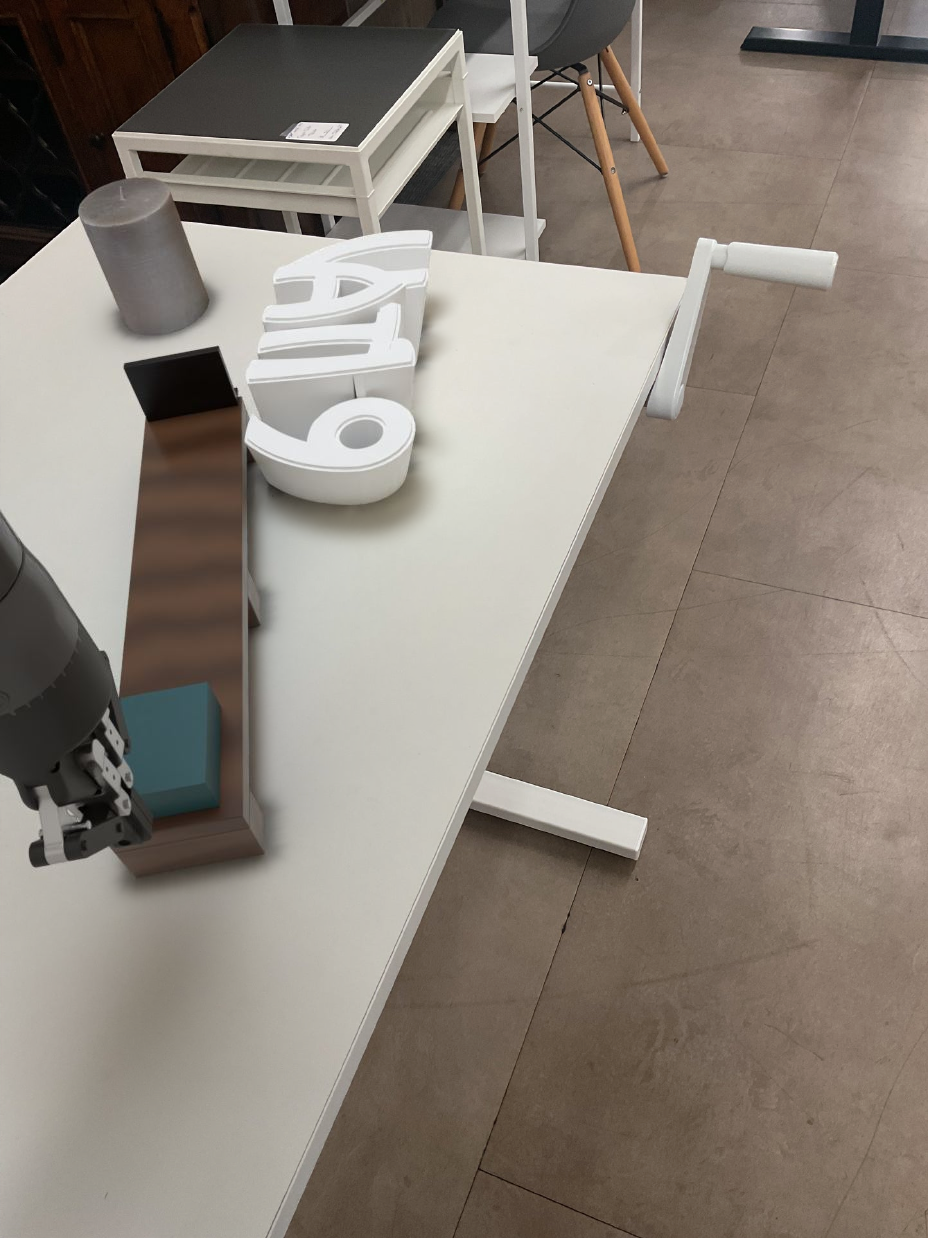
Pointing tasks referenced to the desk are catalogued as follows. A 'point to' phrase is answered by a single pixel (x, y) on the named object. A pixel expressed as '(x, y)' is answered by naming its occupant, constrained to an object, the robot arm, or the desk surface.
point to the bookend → (182, 383)
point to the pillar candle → (144, 255)
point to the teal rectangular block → (175, 748)
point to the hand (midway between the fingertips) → (135, 832)
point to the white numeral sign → (341, 369)
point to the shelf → (195, 619)
